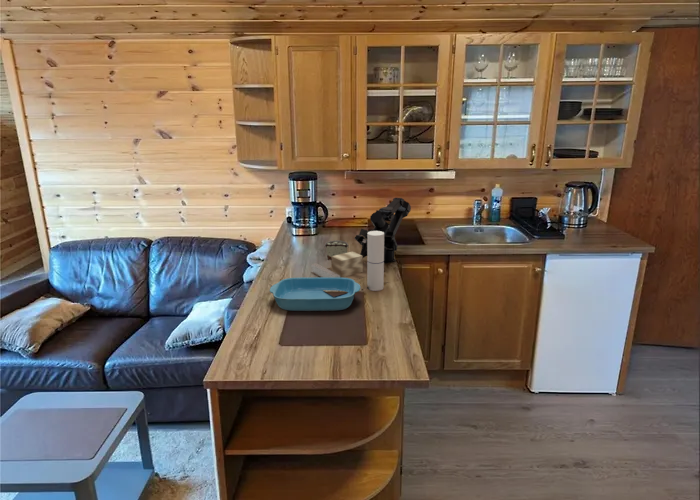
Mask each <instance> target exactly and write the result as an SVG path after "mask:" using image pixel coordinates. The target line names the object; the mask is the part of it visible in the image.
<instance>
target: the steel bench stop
mask: <svg viewBox="0 0 700 500" xmlns="http://www.w3.org/2000/svg"><path fill="white" fill-rule="evenodd" d="M326 268H327V267H324V266H323V265H321V264H319V263H317V262H315V263H311V272H312V273H311V274H313V273H314V274H316V275H318V276H320V277H340V275H338V274H336V273H334V272H332V271H330V270H328V269H326ZM314 274H313V275H314ZM316 275H315V276H316ZM318 276H317V277H318Z"/></svg>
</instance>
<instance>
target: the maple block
mask: <svg viewBox="0 0 700 500" xmlns="http://www.w3.org/2000/svg"><path fill="white" fill-rule="evenodd" d="M363 260H364V258H363V256H362V255H360V254H359V253H357V252H355V251H349V252H348V251H347V253H344V254H339V255H335V256H332V260H331V267H332V272H334V273H336V274H338V275H340V277H345V276H349V275H352V274H356V273H360V272H363V262H364V261H363Z"/></svg>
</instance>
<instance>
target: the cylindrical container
mask: <svg viewBox="0 0 700 500" xmlns="http://www.w3.org/2000/svg"><path fill="white" fill-rule="evenodd" d="M366 240H367V256H366V257H367V258H366V259H367V262H366V263H367V277H366V279H367V280H366V281H367V282H366V283H367V284H366V285H367V289H368V290H369V291H374V292H379V291H382V290H383V289H384V283H385V282H384V279H385V272H384V271H385V263H384V232H382V231H370V232H368V233H367V239H366Z"/></svg>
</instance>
